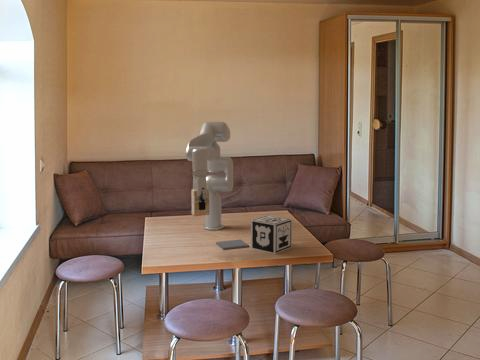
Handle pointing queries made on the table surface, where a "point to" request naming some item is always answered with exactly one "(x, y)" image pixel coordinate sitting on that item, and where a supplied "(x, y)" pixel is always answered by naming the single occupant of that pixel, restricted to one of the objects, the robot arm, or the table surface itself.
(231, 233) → the table surface
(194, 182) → the robot arm
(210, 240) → the table surface
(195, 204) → the supplement box
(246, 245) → the rubber mat
